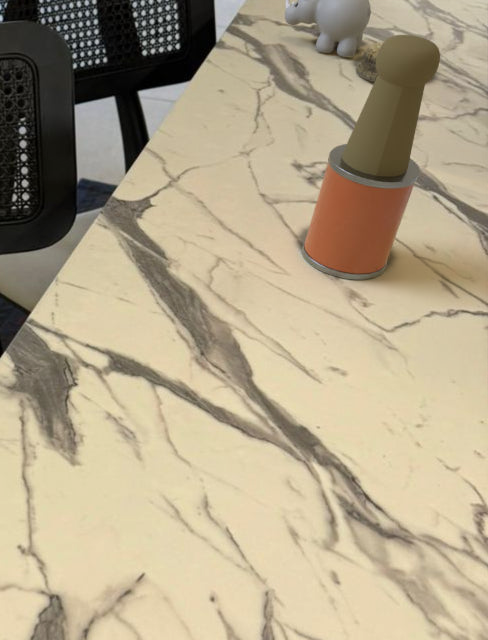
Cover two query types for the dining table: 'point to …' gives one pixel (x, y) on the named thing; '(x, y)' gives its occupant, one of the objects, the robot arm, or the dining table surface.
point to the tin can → (356, 219)
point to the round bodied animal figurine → (332, 22)
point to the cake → (369, 63)
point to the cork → (392, 107)
